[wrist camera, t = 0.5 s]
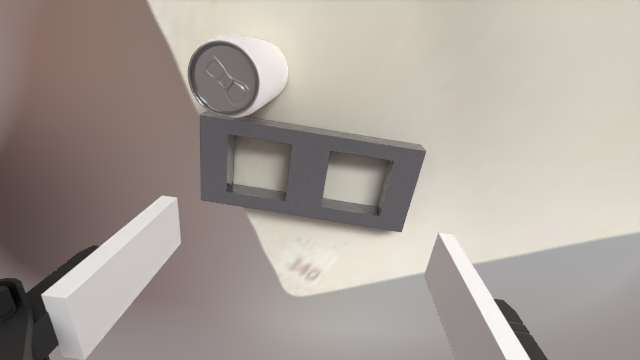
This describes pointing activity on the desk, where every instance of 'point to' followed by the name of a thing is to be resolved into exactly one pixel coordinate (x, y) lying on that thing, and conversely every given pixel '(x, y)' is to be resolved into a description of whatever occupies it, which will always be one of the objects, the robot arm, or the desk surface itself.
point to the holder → (307, 171)
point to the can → (236, 74)
